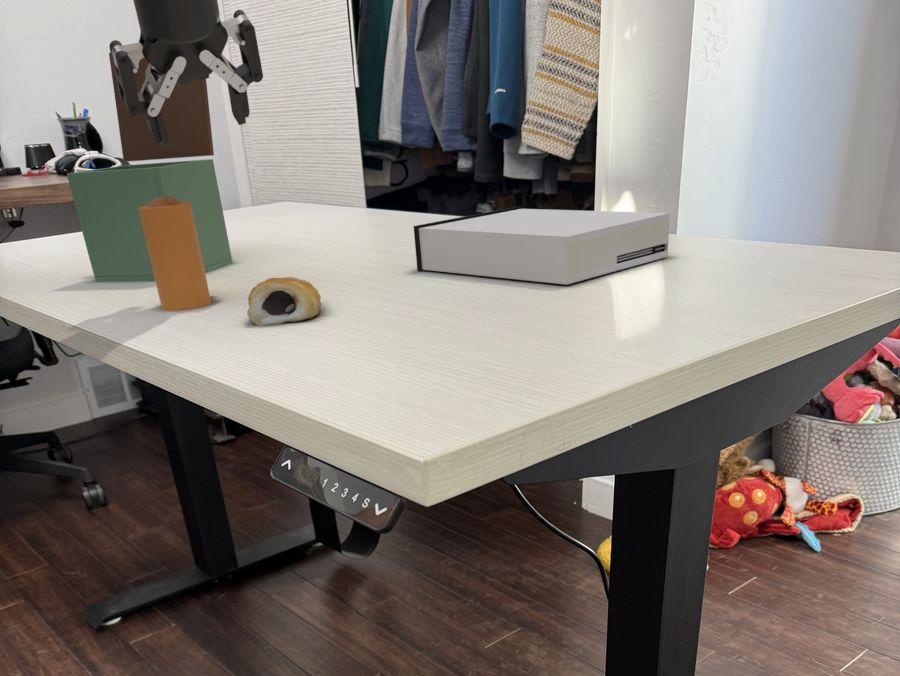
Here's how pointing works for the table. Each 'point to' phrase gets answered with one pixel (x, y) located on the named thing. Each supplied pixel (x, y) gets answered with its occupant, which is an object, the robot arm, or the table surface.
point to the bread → (175, 254)
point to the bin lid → (167, 122)
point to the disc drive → (542, 243)
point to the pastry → (283, 301)
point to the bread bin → (118, 219)
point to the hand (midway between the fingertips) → (201, 130)
